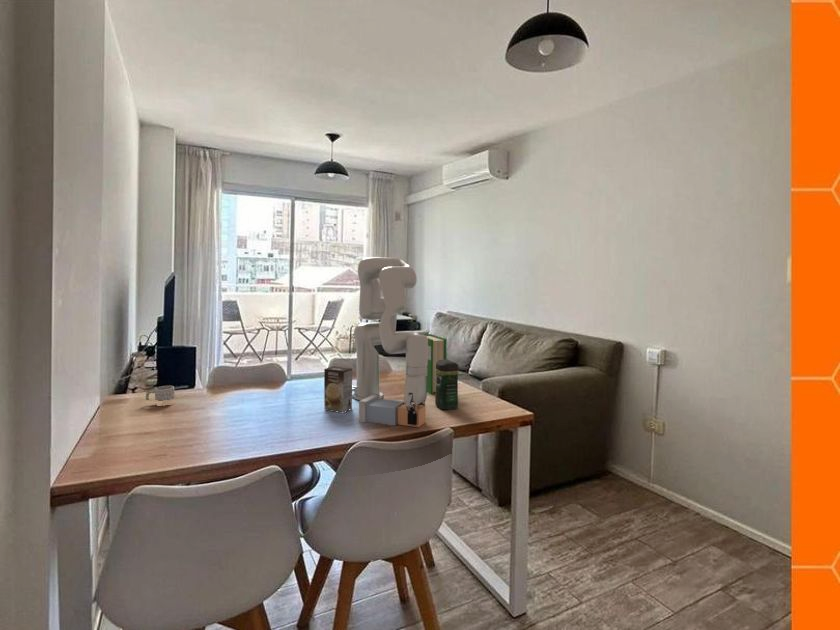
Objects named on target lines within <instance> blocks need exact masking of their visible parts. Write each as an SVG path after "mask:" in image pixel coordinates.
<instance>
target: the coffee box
mask: <svg viewBox="0 0 840 630" xmlns="http://www.w3.org/2000/svg"><path fill="white" fill-rule="evenodd" d="M323 372H324V379H323V380H324V381H323V382H324V384H323V386H324V387H323V388H324V393H323V395H324V396H323V397H324V399H323V400H324V401H323V402H324V408H323V409H327V410H326V411H329V410H333V411H332V412H334V411H338V412H337V413H340V412H344V413H346V412H345V411H347V410H349V409H351V410H352V409H353V391H352V386H353V368H350V367H343V366H337V365H333V366H329V367H327V368H324V370H323ZM349 411H350V410H349ZM347 412H348V411H347Z"/></svg>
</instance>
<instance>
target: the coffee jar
mask: <svg viewBox="0 0 840 630" xmlns="http://www.w3.org/2000/svg"><path fill="white" fill-rule="evenodd" d="M459 371H460V370H459V364H458V363H457V362H454V361H451V360H449V359H446V360H439V361H438V362H437V363H436V392H435V395H434V396H435V397H434V398H435V400H434V401H435V403H434V404H435V406H436V407H437V408H439V409H441V410H448V411H450V410H451V411H452V410H454V409H457V408H458V407H459V389H458V387H459V381H458V380H459Z"/></svg>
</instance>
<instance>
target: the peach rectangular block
mask: <svg viewBox="0 0 840 630" xmlns="http://www.w3.org/2000/svg"><path fill="white" fill-rule="evenodd" d="M411 407H413V409H414V406H411ZM416 413H417V424H416V425H410V424H408V413H407V408H406V404H405V403H404V404H403V405H401V406H399V407H398V424H397V425H399V426H400V425H401V426H406V427H414V428H420V427H421V426H422V425H424V424H425V423H426V405H425V406H424V405H417V408H416Z"/></svg>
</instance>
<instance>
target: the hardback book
mask: <svg viewBox="0 0 840 630" xmlns="http://www.w3.org/2000/svg"><path fill="white" fill-rule="evenodd" d="M419 334H420V333H419ZM420 335H425V336H426V337H427V338H428V375H427V376H426V380H427V393H428V394H429V395H433V393H436V363H437V362H438V361H439V360H447V350H448V349H447V344H448V341H447V339H448V338H445V337H443V336H439V335H435V334H432V333H422V334H420Z"/></svg>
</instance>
